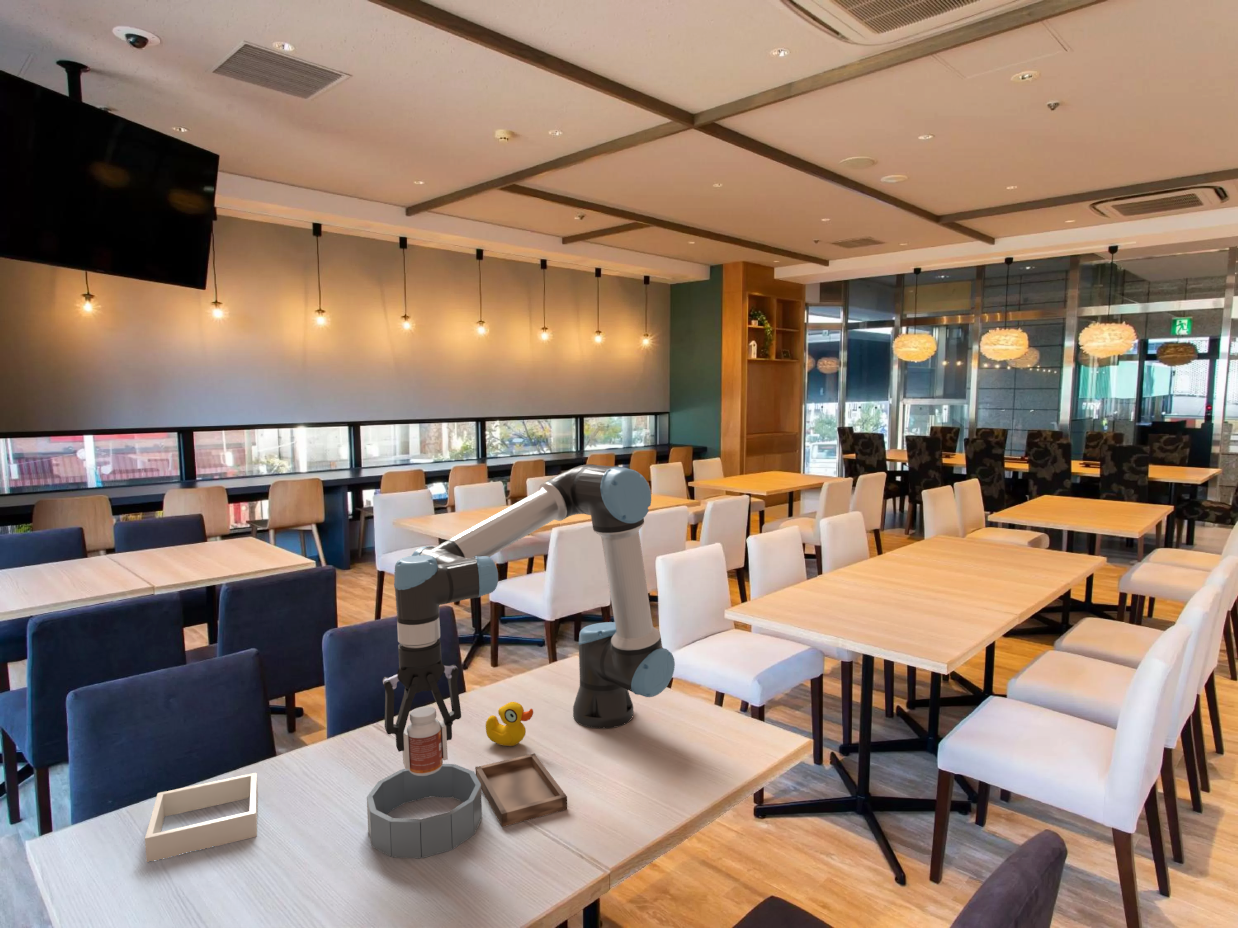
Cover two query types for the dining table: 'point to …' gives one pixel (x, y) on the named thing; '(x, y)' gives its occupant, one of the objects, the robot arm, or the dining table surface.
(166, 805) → the open rectangular frame
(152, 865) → the dining table surface
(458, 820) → the grey ringed piece
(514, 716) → the duckling
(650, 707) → the dining table surface
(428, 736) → the pill bottle
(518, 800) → the tray
